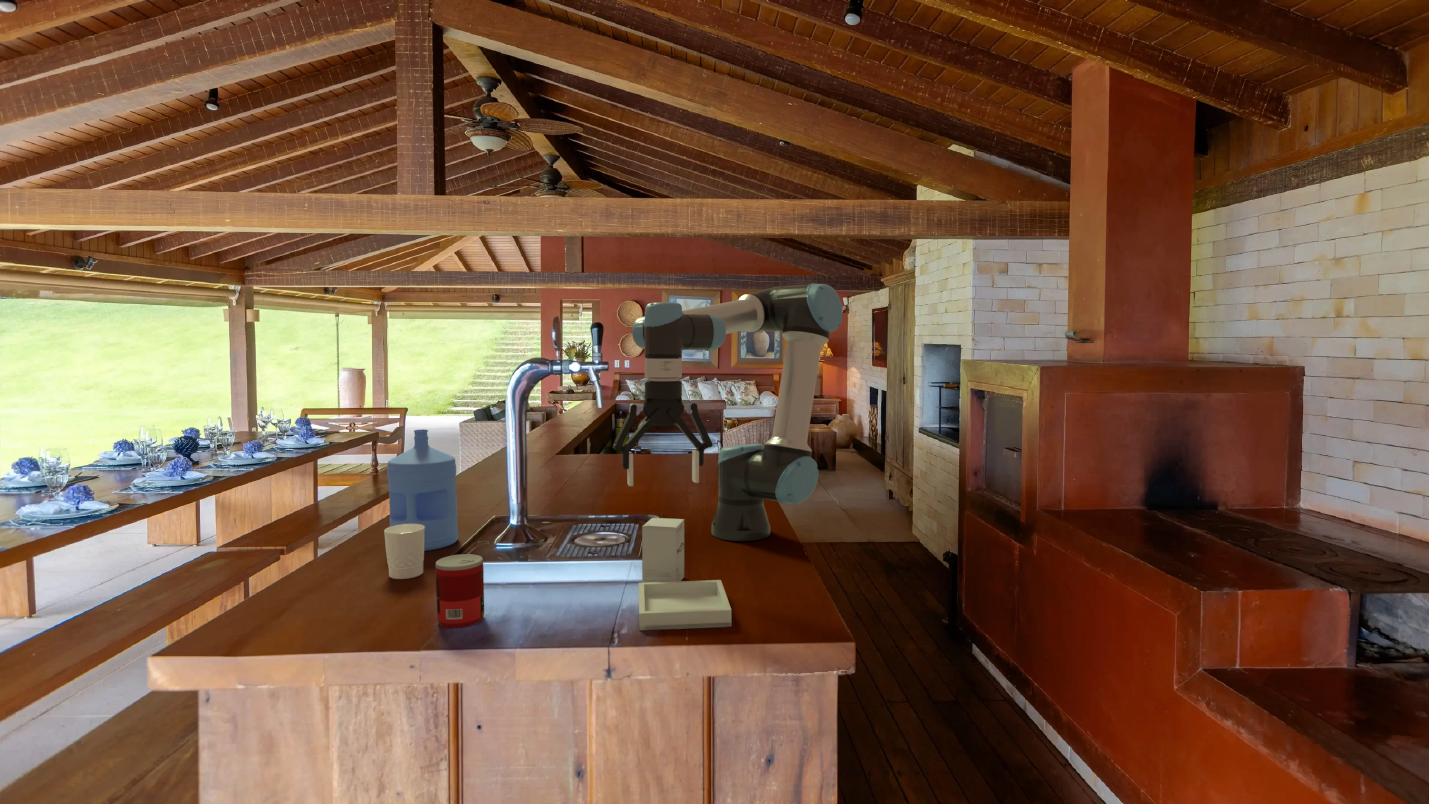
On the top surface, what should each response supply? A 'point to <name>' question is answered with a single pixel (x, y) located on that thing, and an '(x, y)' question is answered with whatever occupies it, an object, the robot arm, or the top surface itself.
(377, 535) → the top surface
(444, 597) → the canned food
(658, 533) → the supplement box
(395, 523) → the water jug
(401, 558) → the white cup
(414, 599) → the top surface
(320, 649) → the top surface
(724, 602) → the sage tray
